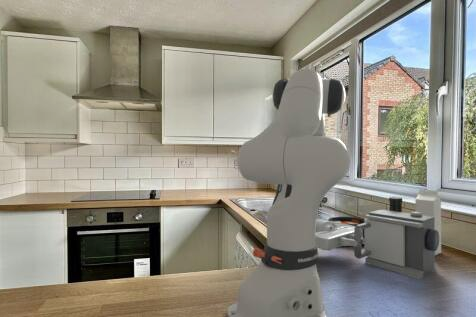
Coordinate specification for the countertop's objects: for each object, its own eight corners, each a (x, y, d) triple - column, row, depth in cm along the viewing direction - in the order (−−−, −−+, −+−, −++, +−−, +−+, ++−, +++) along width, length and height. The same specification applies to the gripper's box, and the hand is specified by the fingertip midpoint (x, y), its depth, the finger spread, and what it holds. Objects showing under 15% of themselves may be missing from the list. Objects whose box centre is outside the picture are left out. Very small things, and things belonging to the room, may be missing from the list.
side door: (390, 272, 82) (390, 229, 82) (351, 260, 92) (351, 222, 92) (404, 265, 87) (404, 225, 87) (366, 255, 97) (366, 218, 97)
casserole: (355, 232, 134) (354, 213, 134) (390, 243, 117) (389, 221, 117) (308, 238, 125) (308, 218, 125) (339, 251, 107) (338, 228, 107)
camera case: (426, 281, 81) (426, 219, 81) (365, 263, 95) (365, 210, 95) (440, 272, 88) (440, 214, 87) (381, 256, 102) (381, 206, 101)
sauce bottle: (388, 250, 108) (388, 195, 108) (408, 253, 104) (407, 196, 104) (384, 254, 103) (383, 197, 103) (404, 258, 99) (403, 199, 99)
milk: (422, 248, 110) (422, 188, 110) (441, 252, 105) (441, 190, 105) (415, 251, 106) (414, 190, 106) (434, 256, 101) (434, 191, 101)
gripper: (302, 228, 95) (340, 238, 84) (340, 220, 108) (377, 227, 97) (302, 248, 95) (340, 260, 84) (340, 237, 108) (377, 246, 97)
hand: (360, 242), depth 91 cm, fingers closed on side door, 2 cm apart
